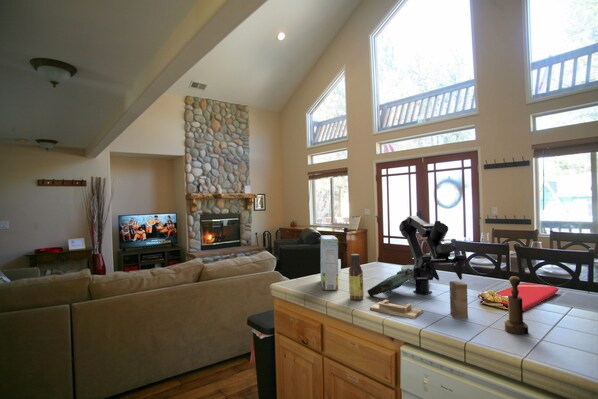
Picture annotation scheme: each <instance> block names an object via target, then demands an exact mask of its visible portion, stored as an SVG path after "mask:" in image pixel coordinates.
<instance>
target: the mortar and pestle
mask: <svg viewBox="0 0 598 399" xmlns="http://www.w3.org/2000/svg"><path fill="white" fill-rule="evenodd" d="M508 281H509V284H510V285H511V287H512V289H511V293H512V296H508V309H509V310H508V319H507V320H505V321H504V331H505V332H507V333H510V334H513V335H519V336H520V335H522V336H523V335H528V334H529V326H528V324H526V322H525V321H524V316H523V315H524V314H523V312H524V311H523V309H522V297H519V296H518V293H519V290H518V288H517V287H518V285H519V284H521V279H520V277H519V276H515V275H512V276H510V277H509V278H508Z"/></svg>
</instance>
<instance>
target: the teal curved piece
mask: <svg viewBox="0 0 598 399" xmlns="http://www.w3.org/2000/svg"><path fill="white" fill-rule="evenodd" d="M412 270H413V269H409V268H408V269H405V270H401V269H400V270H399V271H396V274H394V275H391V276H389V277H387V278H386V279H384V280H382V281H381V282H379V283H378V284H376V285H374V286H372V287H371V288H369V289H367V294H368V295H369V297H373V296H376V295H379V294H383V293H386V292H391V291H394V290H396V289H400V287H402V285H404V284H406V282H409V279H410V278H412V277H413V274H412V273H413V271H412Z"/></svg>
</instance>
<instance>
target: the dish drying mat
mask: <svg viewBox="0 0 598 399" xmlns="http://www.w3.org/2000/svg"><path fill="white" fill-rule="evenodd" d="M517 288H518V290H519V293H518V296H519V297H522V309H523V312H525V311H527V310H528V308H529V309H531V308H533V307H534V306H537V305H538V304H540V303H541V301H542V302H544V301H546V300H548V299H549V298H550V297H552V296H554V295H555V294H556V293H558V292H559V288H558V287H556V286H553V285H545V284H539V283H533V282H524V283H519V285H518V287H517ZM511 289H512V286H511V287H509V288H506V289H503V290H501V291H498V292H495V293H496V294H498V295H501V296H512V293H511ZM545 299H546V300H545ZM482 300H483V299H482ZM482 300H480V302H479V303H480V304H481V303H482V302H483V301H482ZM543 300H544V301H543ZM539 302H540V303H539ZM500 303H501V304H503V306H505V307H506V308H508V302H505V301H503V302H500ZM537 303H538V304H537ZM532 306H533V307H532ZM530 307H531V308H530ZM526 309H527V310H526ZM524 310H525V311H524Z"/></svg>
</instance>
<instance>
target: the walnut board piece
mask: <svg viewBox="0 0 598 399" xmlns="http://www.w3.org/2000/svg"><path fill="white" fill-rule="evenodd" d="M449 299H450V300H449V302H450V303H449V304H450V305H449V306H450V308H449V309H450V316H452V317H454V318H456V320H457V319H459V320H461V319H469V310H468V308H469V306H468V305H469V304H468V303H469V302H468V284H467V283H465V282H463V281H462V280H461V281H460V280H455V281H454V280H453V281H452V280H451V281H449Z"/></svg>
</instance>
